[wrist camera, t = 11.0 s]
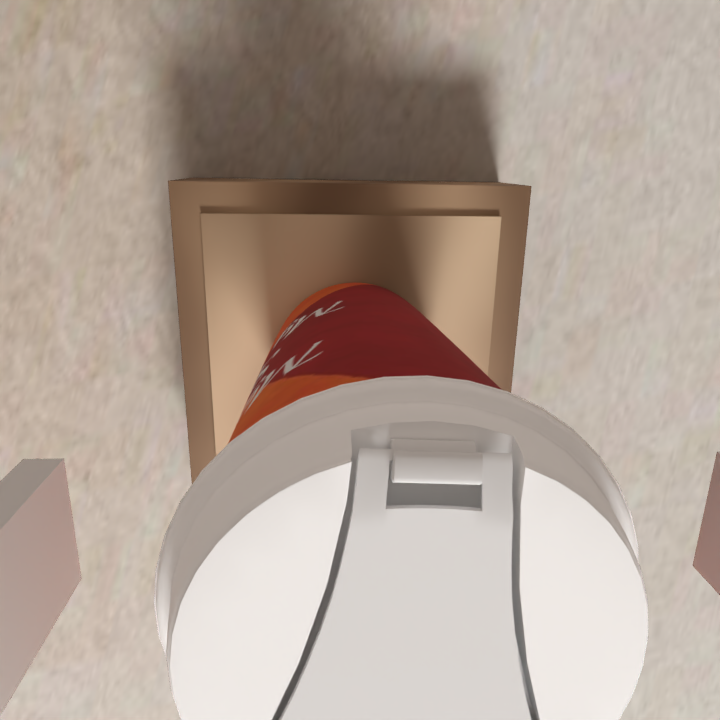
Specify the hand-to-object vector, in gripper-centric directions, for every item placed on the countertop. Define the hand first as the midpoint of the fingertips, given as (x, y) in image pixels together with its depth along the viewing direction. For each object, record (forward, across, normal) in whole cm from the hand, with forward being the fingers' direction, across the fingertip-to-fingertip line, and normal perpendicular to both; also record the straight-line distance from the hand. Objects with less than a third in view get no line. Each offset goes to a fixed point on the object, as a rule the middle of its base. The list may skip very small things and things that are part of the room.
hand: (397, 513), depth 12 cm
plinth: (+14, +1, 0) cm, 14 cm away
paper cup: (+10, 0, 0) cm, 10 cm away
